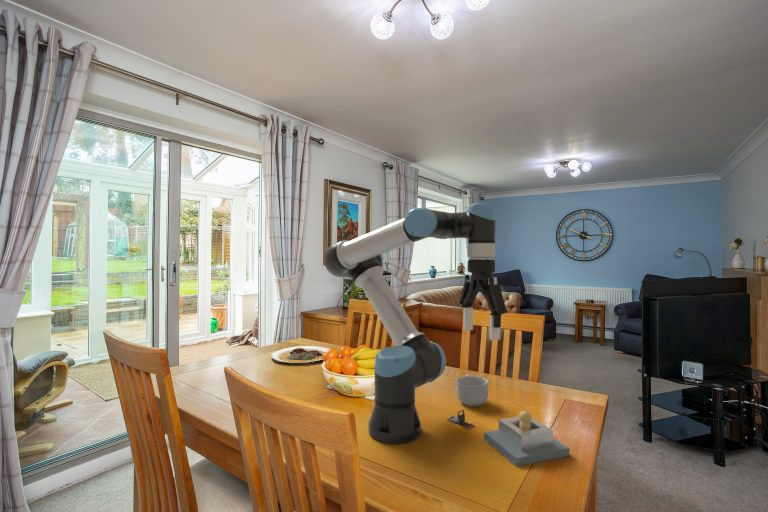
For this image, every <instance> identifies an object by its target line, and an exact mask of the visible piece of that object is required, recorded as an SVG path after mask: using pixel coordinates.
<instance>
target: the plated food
mask: <svg viewBox="0 0 768 512" xmlns="http://www.w3.org/2000/svg"><path fill="white" fill-rule="evenodd" d="M330 349H331V348H328V347H323V346H316V345H315V346H314V345H313V346H312V345H305V346H304V345H301V346H291V347H286V348H282V349H279V350H276V351H274V352H272V354H271V359H273V360H274V361H277V362H280V363H281V362H282V363H286V362H287V364H293V363H303V364H308V363H307V362H288V361H283V360H280V359H279V357H280V356H281V355H282V354H284V353H287V352H290V351H292V352H290V354H291V355H289V356H286V358H287V359H288V360H302V361H303V360H305V361H306V360H312V359H315V358H316V356H317V357H319V356H323V355H322V353H320V352H319V351H322V352H327V351H328V350H330ZM306 350H312V351H306ZM317 350H318V351H317ZM320 360H321V361H324V360H323V359H319V360H315V361H317V362H321V361H320ZM315 361H309V362H312V363H316V362H315Z"/></svg>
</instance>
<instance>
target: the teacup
mask: <svg viewBox="0 0 768 512" xmlns="http://www.w3.org/2000/svg"><path fill="white" fill-rule="evenodd" d="M455 383H456V385H455V386H456V396H457V399H458V400H459V402H461V403H462V404H464V405H465V406H467V407H480V406H482V405H484V403H486V402H487V400H488V398H489V380H488V379H487V378H485V377H483V376H478V375H470V374H465V375H464V376H460V377H458V378H456V379H455Z"/></svg>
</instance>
